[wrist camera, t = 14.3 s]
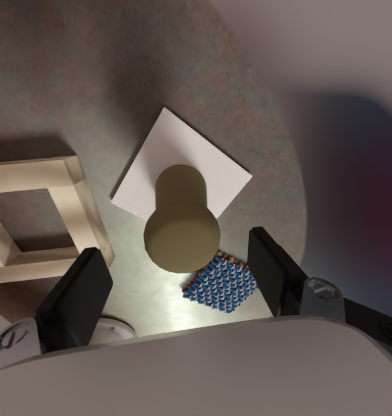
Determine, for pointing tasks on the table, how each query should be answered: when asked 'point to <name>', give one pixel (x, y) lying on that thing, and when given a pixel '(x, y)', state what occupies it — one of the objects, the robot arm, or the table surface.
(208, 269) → the woven mat
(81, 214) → the wooden holder
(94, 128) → the table surface
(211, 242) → the cork
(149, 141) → the ceramic tile
